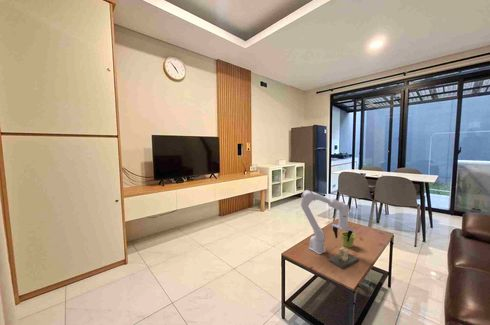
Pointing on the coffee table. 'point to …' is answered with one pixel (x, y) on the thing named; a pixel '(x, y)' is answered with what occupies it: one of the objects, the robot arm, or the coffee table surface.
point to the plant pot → (345, 237)
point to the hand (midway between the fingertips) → (342, 239)
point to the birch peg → (343, 254)
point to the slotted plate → (341, 263)
